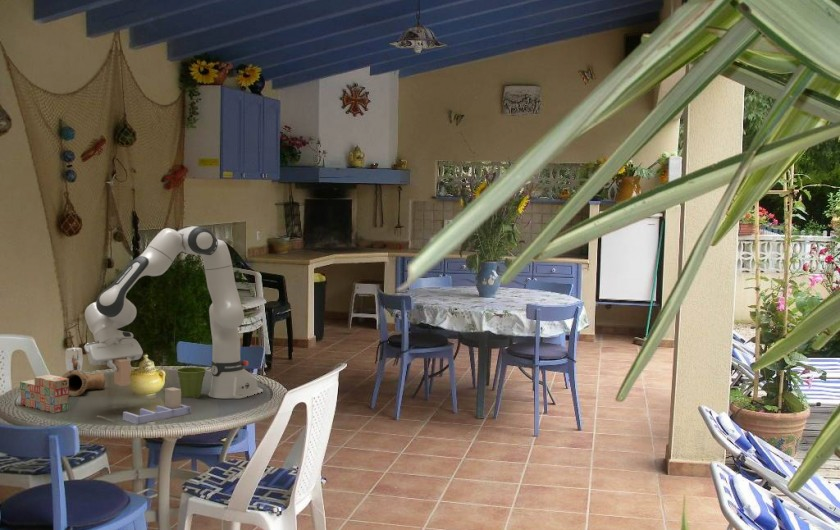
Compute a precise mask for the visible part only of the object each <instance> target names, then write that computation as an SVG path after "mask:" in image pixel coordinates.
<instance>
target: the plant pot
mask: <svg viewBox="0 0 840 530" xmlns="http://www.w3.org/2000/svg"><path fill="white" fill-rule="evenodd" d="M206 371H207V368H205V367H199V366H197V367H196V366H195V367H194V366H187V367H186V366H185V367H181V368H180V367H179V368H177V369H176V370H175V372H177V376H178V379H179V386H180V388H179V389H181V398H185V397H187V398H194V399H198V398H200V397H201V394H202V389H203V384H204V383H203V382H204V378H205V375H206Z"/></svg>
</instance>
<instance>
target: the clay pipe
mask: <svg viewBox="0 0 840 530" xmlns="http://www.w3.org/2000/svg"><path fill="white" fill-rule="evenodd" d="M61 377H63V378H67V379H69V394H68V395H69V397H77V396H80V395H82V394H83V393H84V392H85V391H86V390H92V389H96V390H102V389H104V388H105V387H106V386H105V384H106V374H105V372H100V373H95V374H86V373H85V372H83V371H82V370H81V371H79V370H70V371H68V372H67V371H66V372H65V373H64V374H63V375H62V376H61Z"/></svg>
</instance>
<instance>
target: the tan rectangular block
mask: <svg viewBox="0 0 840 530" xmlns="http://www.w3.org/2000/svg"><path fill="white" fill-rule="evenodd" d="M113 364H114V365H115V366H118V368H119V371H118V372H113V375H114V376H113V380H114V381H113V383H114V385H117V386H120V387H125V386H131V370H130V365H131V362H130V360H127V359H115V360H114V363H113Z"/></svg>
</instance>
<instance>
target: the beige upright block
mask: <svg viewBox="0 0 840 530" xmlns="http://www.w3.org/2000/svg"><path fill="white" fill-rule="evenodd" d="M181 404H182V394H181V388H177V387H174V386H173V387H167V388H164V407H166V408H169V409H178V408H181Z"/></svg>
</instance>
